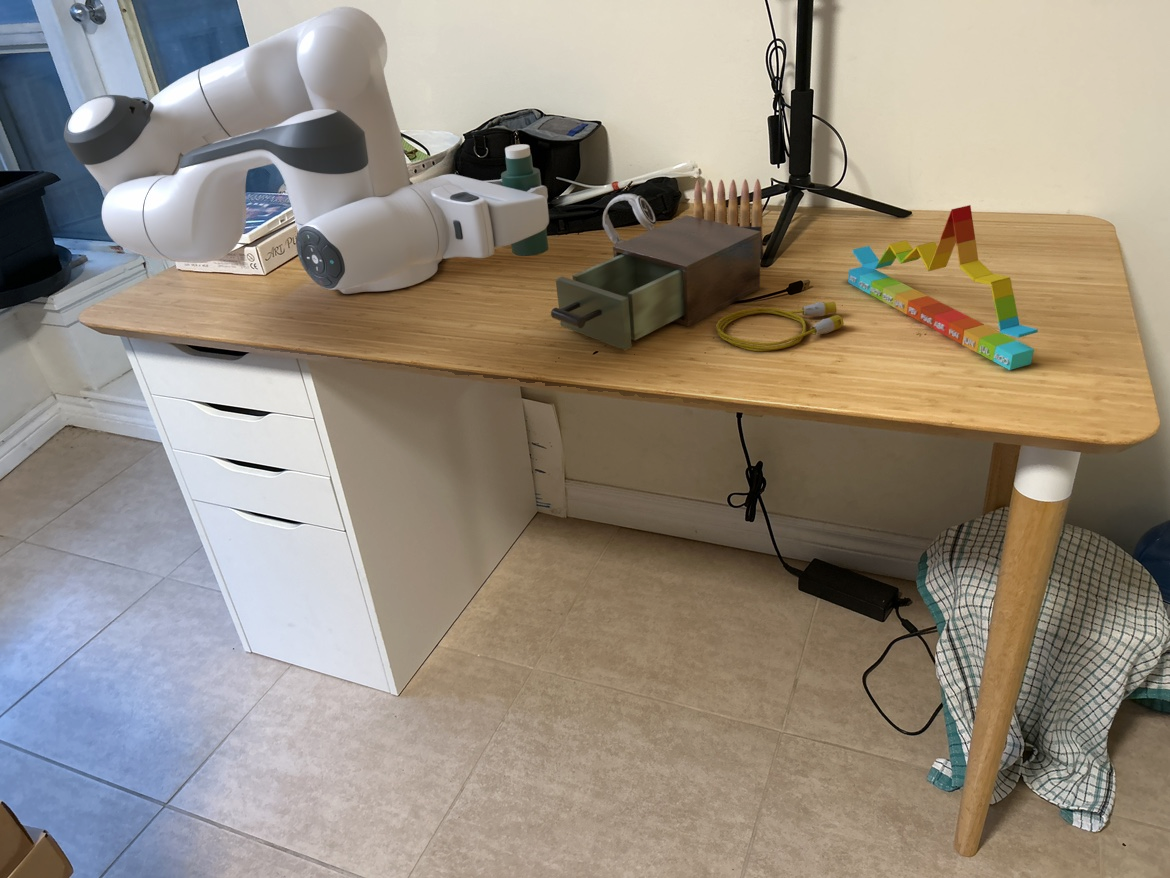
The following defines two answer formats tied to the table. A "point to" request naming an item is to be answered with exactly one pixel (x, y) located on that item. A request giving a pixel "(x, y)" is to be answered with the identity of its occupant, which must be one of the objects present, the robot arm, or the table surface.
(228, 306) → the table surface
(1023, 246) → the table surface
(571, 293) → the drawer
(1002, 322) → the chart
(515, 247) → the glue bottle
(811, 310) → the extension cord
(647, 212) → the watch
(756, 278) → the cabinet
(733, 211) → the ammunition clip
